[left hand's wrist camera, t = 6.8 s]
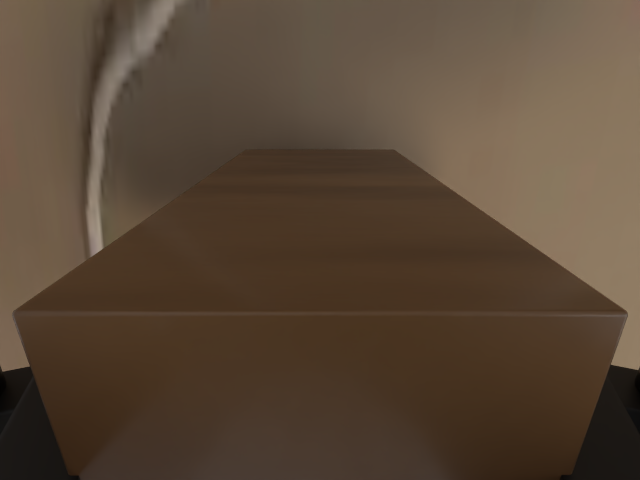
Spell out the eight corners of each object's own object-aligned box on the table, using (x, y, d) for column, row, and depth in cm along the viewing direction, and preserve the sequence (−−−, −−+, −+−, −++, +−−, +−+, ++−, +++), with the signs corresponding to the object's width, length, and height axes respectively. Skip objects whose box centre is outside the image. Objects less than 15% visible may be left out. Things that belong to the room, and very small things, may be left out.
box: (245, 149, 16) (8, 312, 4) (394, 149, 16) (632, 311, 4) (269, 483, 23) (215, 894, 11) (370, 483, 23) (424, 894, 11)
